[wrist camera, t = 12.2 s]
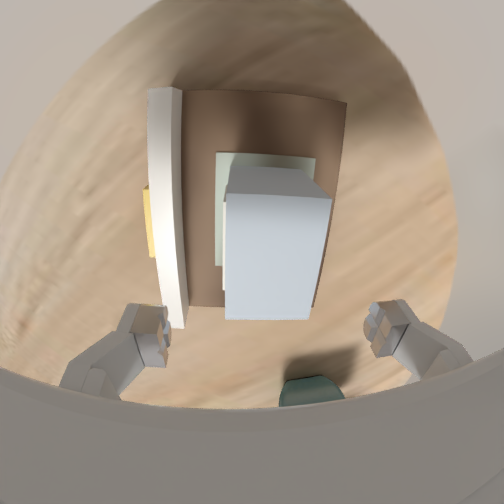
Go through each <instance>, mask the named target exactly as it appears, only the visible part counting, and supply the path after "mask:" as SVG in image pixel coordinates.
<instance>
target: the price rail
mask: <svg viewBox="0 0 504 504" xmlns="http://www.w3.org/2000/svg"><path fill="white" fill-rule="evenodd" d="M181 114H182V90H179V89H177V88H174V87H162V88H151V89H148V109H147V145H148V175H149V185H147V186H146V187H145V188H144V189H143V200H144V212H145V222H146V231H147V240H148V248H149V255H150V257H156V263H157V270H158V277H159V284H160V290H161V296H162V302H163V305H166V306H167V309H168V313H169V314H168V318H167V320H168V321H169V322H170V324H171V328H182V329H185V324H186V319H187V314H188V309H189V300H188V290H187V278H186V266H185V252H184V237H183V217H182V189H181Z"/></svg>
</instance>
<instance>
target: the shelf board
mask: <svg viewBox="0 0 504 504" xmlns="http://www.w3.org/2000/svg"><path fill="white" fill-rule="evenodd" d="M346 108H347V103H344V102H339V101H334V100H328V99H322V98H316V97H309V96H302V95H294V94H285V93H274V92H262V91H244V90H186V91H182V114H181V189H182V217H183V237H184V252H185V266H186V278H187V290H188V300H189V306H203V307H225V290H223V201H224V194H225V188H226V185H228V178H229V172H230V165H231V166H257V167H275V168H289V169H301V170H302V171H303V172H304V173H306V174H307V175H308V176H309V177H310V178H311V179H312V180H313V181H314V182H315V183H316V184H317V185H318V186H319V187H320V188H321V189H322V190H323V191H324V192H325V193H327V194H328V195H329V196H330V197H331V198H332V204H331V210H330V216H329V222H328V228H327V233H326V239H325V244H324V249H323V255H322V260H321V264H320V269H319V274H318V279H317V283H316V288H315V292H314V297H313V301H312V305H311V307H313V306H314V302H315V298H316V294H317V289H318V285H319V281H320V276H321V271H322V267H323V262H324V257H325V252H326V247H327V242H328V237H329V231H330V226H331V220H332V214H333V209H334V203H335V196H336V190H337V183H338V176H339V169H340V162H341V154H342V146H343V137H344V128H345V118H346Z"/></svg>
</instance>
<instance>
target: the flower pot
mask: <svg viewBox="0 0 504 504" xmlns="http://www.w3.org/2000/svg"><path fill="white" fill-rule="evenodd" d="M341 399H346V398H345V397H344V395H343V393H342V391H341V390H340V389H339V388H338V386H337V385H336V384H335V383H333V382H332V381H331V380H329V379H328V378H326V377H324V376H315V377H310V378H304V379H298V380H291V381H287V382H286V383H285V385H284V387H283V389H282V391H281V394H280V398H279V407H286V406H296V405H306V404H314V403H322V402H329V401H335V400H341Z"/></svg>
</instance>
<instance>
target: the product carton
mask: <svg viewBox="0 0 504 504" xmlns="http://www.w3.org/2000/svg"><path fill="white" fill-rule="evenodd" d="M331 204H332V198H331V197H330V196H329V195H328V194H327V193H325V192H324V191H323V190H322V189H321V188H320V187H319V186H318V185H317V184H316V183H315V182H314V181H313V180H312V179H311V178H310V177H309V176H308V175H307V174H306V173H304V172H303V171H302V170H301V169H289V168H275V167H257V166H231V165H230V172H229V178H228V185H226V188H225V194H224V201H223V290H225V319H236V320H295V319H308V318H309V314H310V310H311V305H312V301H313V297H314V292H315V288H316V283H317V279H318V274H319V269H320V264H321V260H322V255H323V249H324V244H325V239H326V233H327V228H328V222H329V216H330V210H331Z"/></svg>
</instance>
